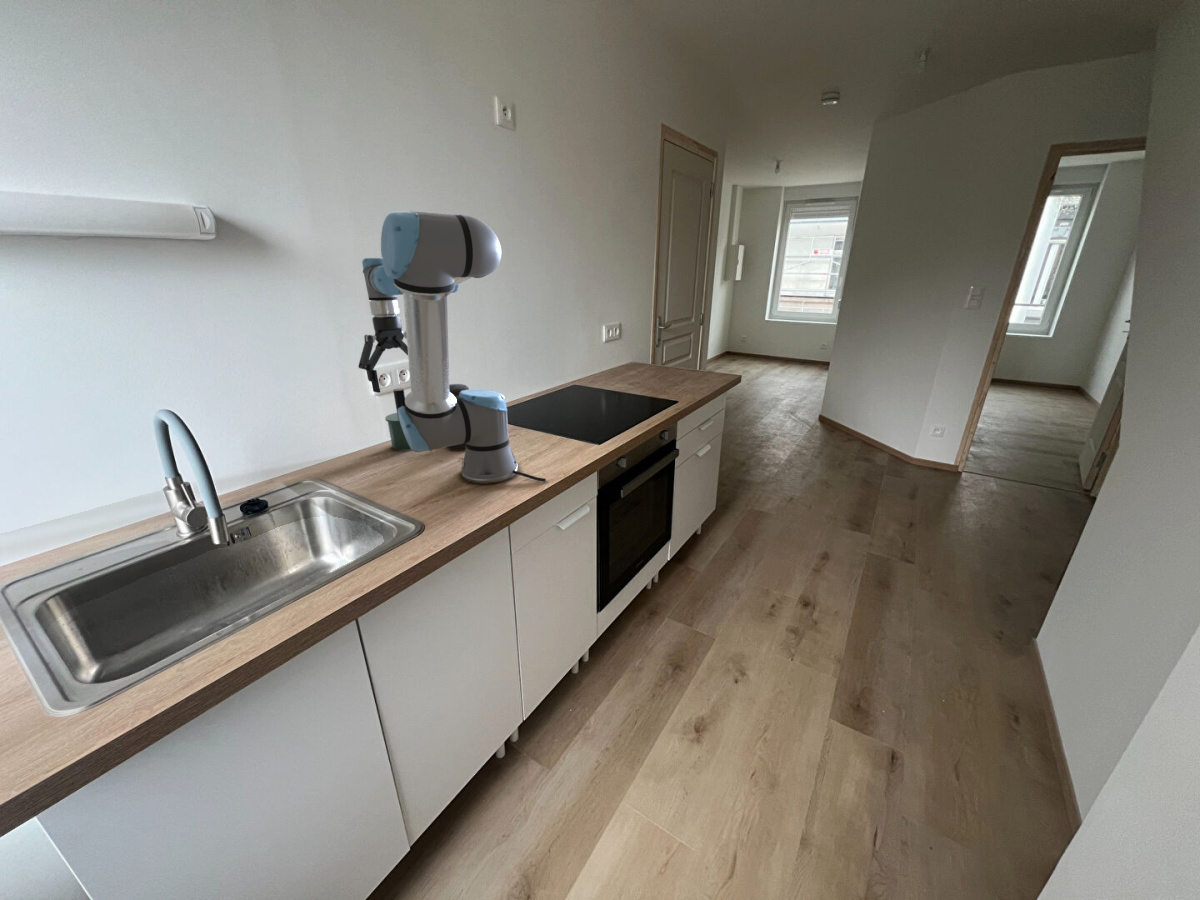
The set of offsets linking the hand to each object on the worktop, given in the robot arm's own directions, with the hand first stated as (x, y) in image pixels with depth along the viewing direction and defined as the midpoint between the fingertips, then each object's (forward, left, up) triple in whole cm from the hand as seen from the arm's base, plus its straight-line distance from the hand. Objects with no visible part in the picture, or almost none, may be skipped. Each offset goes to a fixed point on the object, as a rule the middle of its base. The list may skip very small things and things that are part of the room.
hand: (398, 387), depth 139 cm
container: (-14, -10, -19) cm, 26 cm away
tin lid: (0, 0, -10) cm, 10 cm away
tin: (0, 0, -19) cm, 19 cm away
